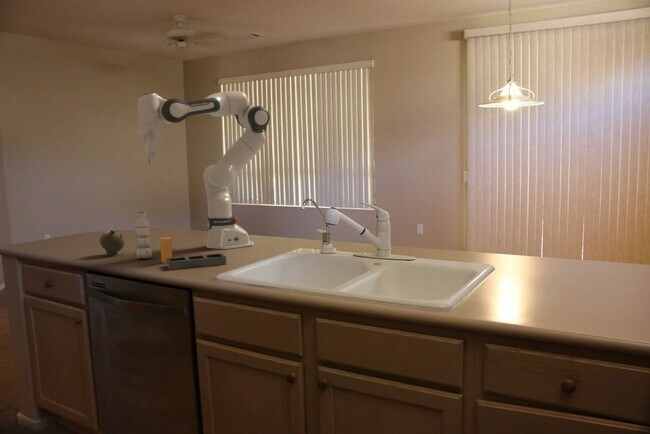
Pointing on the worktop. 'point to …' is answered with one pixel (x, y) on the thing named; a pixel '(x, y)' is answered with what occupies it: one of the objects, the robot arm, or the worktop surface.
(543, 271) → the worktop surface
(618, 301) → the worktop surface
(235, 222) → the robot arm
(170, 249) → the orange block
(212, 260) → the grey compartment tray
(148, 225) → the plastic bottle
